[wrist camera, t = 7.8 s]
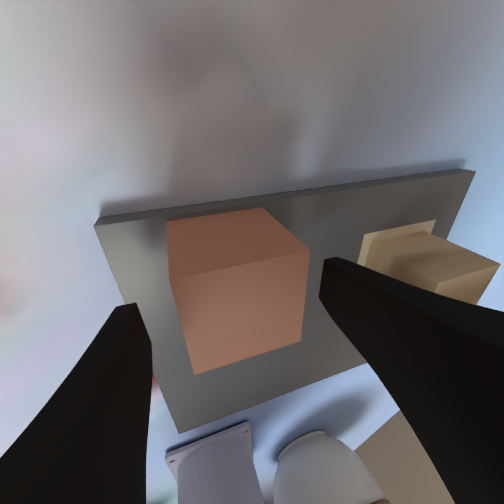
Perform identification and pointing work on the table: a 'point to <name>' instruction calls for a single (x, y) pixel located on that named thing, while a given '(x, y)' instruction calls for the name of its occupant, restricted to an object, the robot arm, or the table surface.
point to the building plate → (315, 315)
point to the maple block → (433, 265)
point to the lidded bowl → (323, 474)
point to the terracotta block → (236, 285)
